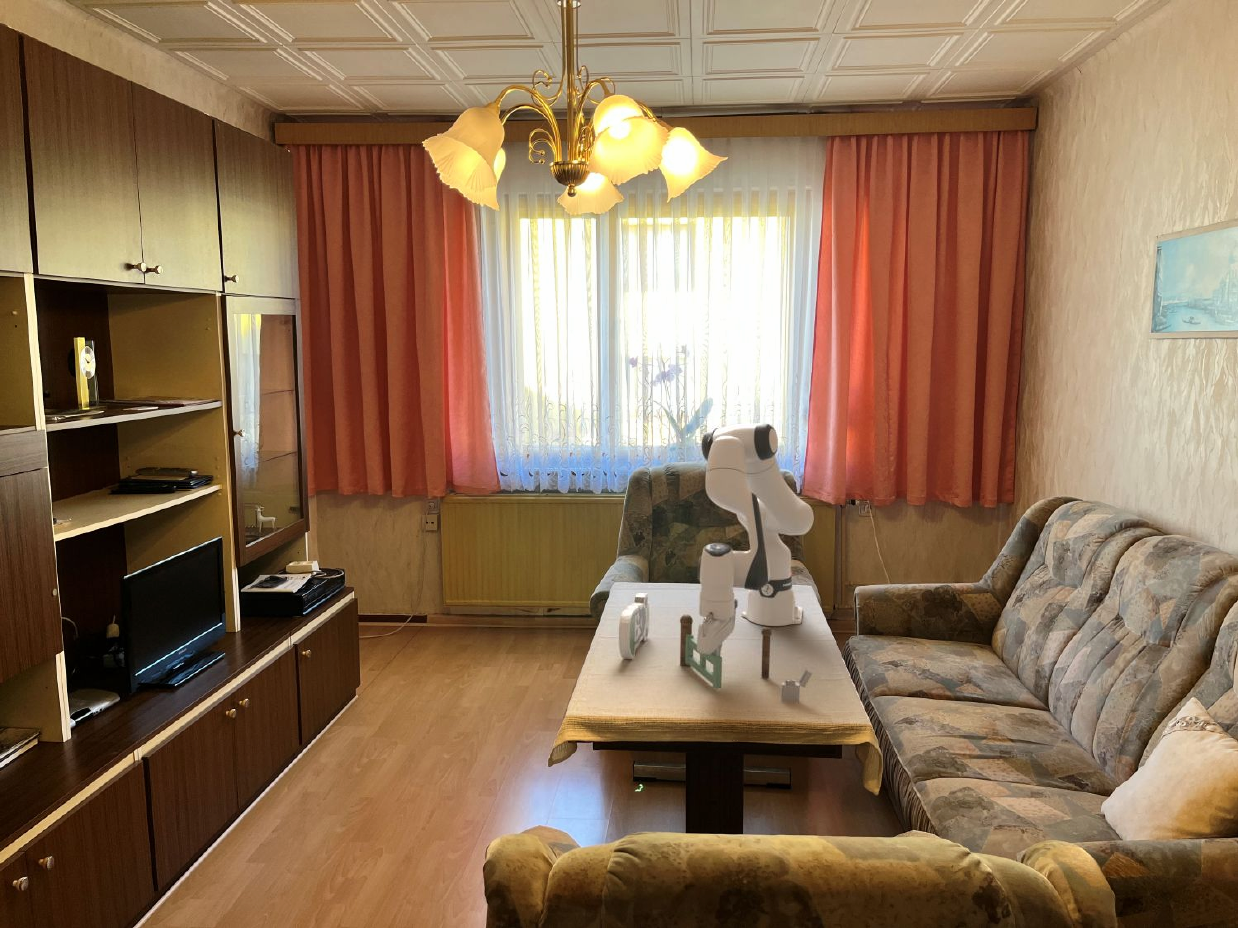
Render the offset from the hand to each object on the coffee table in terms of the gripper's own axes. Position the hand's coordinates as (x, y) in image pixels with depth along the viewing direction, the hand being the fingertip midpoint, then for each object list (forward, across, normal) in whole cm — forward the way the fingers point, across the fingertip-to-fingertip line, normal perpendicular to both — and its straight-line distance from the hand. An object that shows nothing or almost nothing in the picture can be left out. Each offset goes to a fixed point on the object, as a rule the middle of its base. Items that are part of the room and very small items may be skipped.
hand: (715, 659), depth 239 cm
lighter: (+6, -4, -22) cm, 23 cm away
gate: (+5, 0, +3) cm, 6 cm away
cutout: (+6, +13, +28) cm, 31 cm away
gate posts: (+6, +8, 0) cm, 10 cm away
